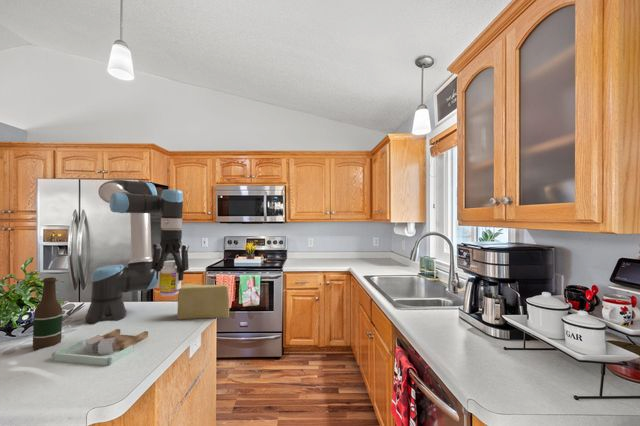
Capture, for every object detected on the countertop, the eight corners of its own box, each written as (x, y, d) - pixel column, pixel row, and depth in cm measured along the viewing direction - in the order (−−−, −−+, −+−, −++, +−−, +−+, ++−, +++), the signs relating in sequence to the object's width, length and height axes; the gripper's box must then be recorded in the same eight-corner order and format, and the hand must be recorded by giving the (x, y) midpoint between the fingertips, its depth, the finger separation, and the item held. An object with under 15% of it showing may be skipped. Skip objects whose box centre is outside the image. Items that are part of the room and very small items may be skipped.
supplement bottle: (170, 297, 115) (171, 263, 115) (155, 295, 116) (156, 262, 116) (182, 292, 121) (183, 260, 121) (167, 291, 123) (168, 259, 123)
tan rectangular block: (231, 313, 148) (232, 282, 148) (226, 320, 138) (227, 287, 138) (184, 313, 147) (185, 282, 147) (176, 320, 137) (177, 286, 137)
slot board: (116, 336, 117) (116, 329, 117) (147, 339, 115) (148, 331, 115) (89, 350, 105) (89, 341, 105) (123, 353, 103) (124, 344, 103)
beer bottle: (66, 344, 109) (69, 277, 110) (40, 353, 102) (43, 281, 102) (52, 340, 112) (55, 275, 112) (26, 349, 104) (29, 279, 105)
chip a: (99, 345, 106) (98, 334, 105) (106, 348, 104) (104, 338, 103) (86, 351, 103) (85, 340, 102) (92, 355, 101) (91, 344, 100)
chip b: (102, 350, 103) (101, 339, 103) (116, 348, 105) (115, 337, 104) (98, 357, 99) (97, 345, 99) (113, 354, 101) (112, 343, 100)
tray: (80, 349, 105) (80, 340, 105) (133, 354, 103) (133, 345, 103) (51, 363, 95) (51, 353, 95) (109, 368, 93) (109, 358, 93)
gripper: (141, 228, 117) (139, 289, 116) (189, 230, 114) (187, 292, 114) (154, 228, 124) (152, 284, 124) (199, 229, 122) (198, 287, 121)
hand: (169, 288), depth 119 cm, fingers closed on supplement bottle, 7 cm apart
